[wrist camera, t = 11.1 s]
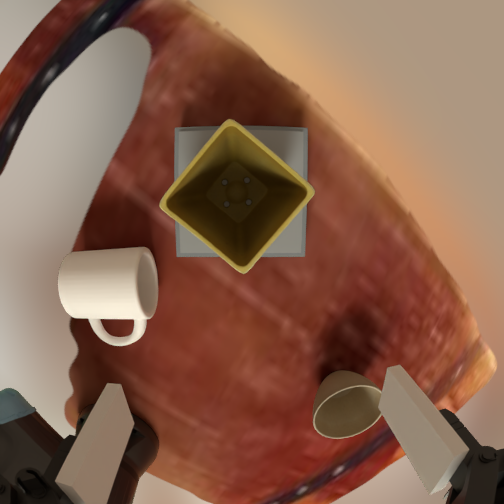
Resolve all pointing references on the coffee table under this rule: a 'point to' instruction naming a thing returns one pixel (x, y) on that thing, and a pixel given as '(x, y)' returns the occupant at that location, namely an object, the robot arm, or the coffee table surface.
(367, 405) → the round planter pot
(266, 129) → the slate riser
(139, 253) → the mug
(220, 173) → the flower pot
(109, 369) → the coffee table surface
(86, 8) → the coffee table surface
